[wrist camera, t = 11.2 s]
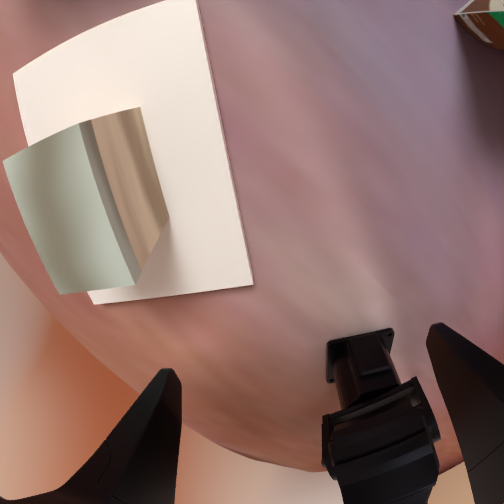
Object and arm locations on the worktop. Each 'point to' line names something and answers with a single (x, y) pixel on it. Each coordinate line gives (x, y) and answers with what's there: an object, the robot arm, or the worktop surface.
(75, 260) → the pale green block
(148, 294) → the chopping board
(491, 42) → the food container
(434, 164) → the worktop surface
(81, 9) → the worktop surface
